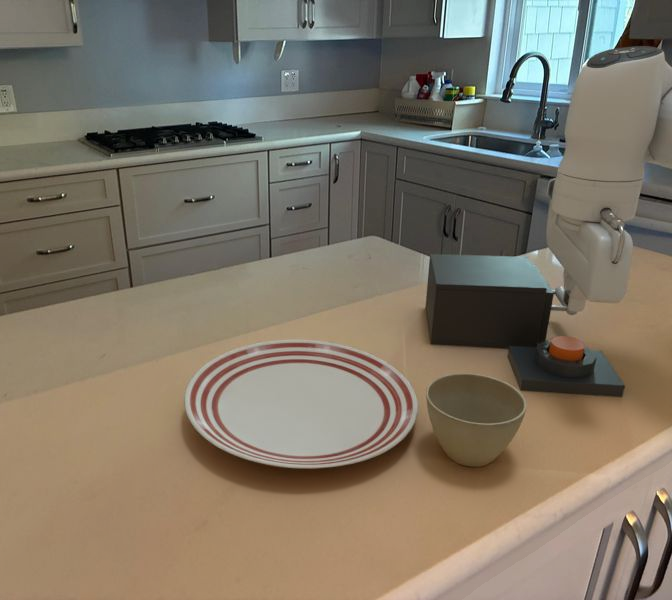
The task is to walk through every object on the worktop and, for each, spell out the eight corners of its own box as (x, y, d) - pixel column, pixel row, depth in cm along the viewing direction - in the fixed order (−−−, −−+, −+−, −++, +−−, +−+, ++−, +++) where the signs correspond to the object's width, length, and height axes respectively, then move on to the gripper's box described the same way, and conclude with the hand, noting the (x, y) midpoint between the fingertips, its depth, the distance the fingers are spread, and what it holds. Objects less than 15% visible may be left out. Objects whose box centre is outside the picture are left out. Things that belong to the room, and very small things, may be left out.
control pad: (599, 361, 84) (604, 338, 83) (622, 397, 76) (628, 372, 74) (507, 356, 86) (510, 334, 84) (520, 390, 78) (524, 366, 76)
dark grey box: (518, 313, 99) (527, 256, 95) (536, 350, 87) (546, 288, 83) (425, 308, 101) (430, 253, 97) (430, 344, 89) (436, 283, 86)
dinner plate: (375, 349, 89) (376, 328, 87) (456, 473, 64) (459, 447, 62) (183, 367, 85) (181, 346, 84) (190, 506, 60) (187, 479, 59)
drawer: (556, 311, 97) (565, 264, 94) (577, 345, 86) (587, 294, 83) (440, 306, 100) (444, 260, 96) (447, 338, 89) (452, 288, 86)
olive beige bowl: (525, 440, 68) (534, 385, 66) (506, 495, 61) (516, 435, 58) (436, 416, 73) (441, 363, 70) (408, 463, 65) (413, 407, 62)
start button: (577, 348, 81) (579, 336, 80) (586, 363, 77) (588, 351, 77) (545, 346, 82) (547, 335, 81) (552, 361, 78) (555, 349, 77)
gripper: (660, 225, 61) (629, 347, 67) (596, 179, 80) (576, 278, 85) (593, 223, 62) (568, 343, 68) (545, 178, 81) (528, 276, 86)
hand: (572, 306), depth 77 cm, fingers closed
